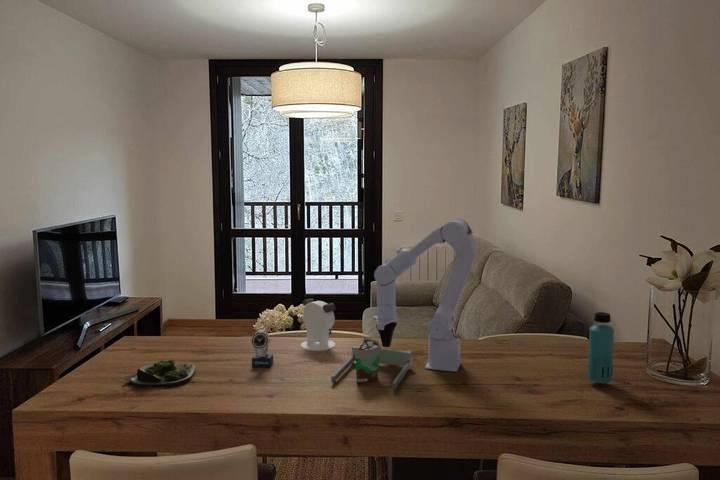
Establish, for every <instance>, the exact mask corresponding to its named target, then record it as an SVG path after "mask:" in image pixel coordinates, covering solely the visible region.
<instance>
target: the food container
mask: <svg viewBox="0 0 720 480" xmlns="http://www.w3.org/2000/svg"><path fill="white" fill-rule="evenodd" d="M359 347H360V348H359V350H356V354H355V358H356V361H355V370H356V371H355V374H356V385H360V386H361V385H369V384H370V385H371V384H373V383H375V382H377V381H378V379H379V378H378V377H379V365H380V363H379V354H381V352H382V350H381V349H382V344H381V343H380V342H379V341H378V340H375V339H372V338H367V337H364V338H363V343H362V344H360V346H359Z"/></svg>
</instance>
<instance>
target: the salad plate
mask: <svg viewBox="0 0 720 480" xmlns="http://www.w3.org/2000/svg"><path fill="white" fill-rule="evenodd" d="M195 371H196V365H195V364H192V363H188V362H186V363H185V362H182V363H176V361H175V360H173V359H171V358H170V359H168V358H165V359H164V360H162V359H161V360H159V361H156V362H154V363H153V364H152V363H151V364H148V365H145V366H141V367H139V368H138V369H137V371H136V372H135V373H133V374H131V375H129V376H126V377H124V379H123V380H124V381H126V382H130V383H131V384H133V385H134V386H135V385H136V386H135V387H137V386H139V387H138V388H143V387H165V388H174V387H178V386H181V385H183V384H186V383H187V382H188V381H190V380H192V378H193V375H194V374H195ZM173 386H174V387H173Z"/></svg>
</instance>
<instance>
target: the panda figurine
mask: <svg viewBox="0 0 720 480" xmlns="http://www.w3.org/2000/svg"><path fill="white" fill-rule="evenodd" d="M302 305H303V306H304V307H303V310H302V311H303V312H302V318H303V322H304V324H305V326H306V341H303V342H301V344H300V347H301V349H303V350H305V351H311V352H323V351H329V350H331V348H332V349H333V347H334V348H335V346H336V343H335V342H334V341H333V340H329V337H330V335H332V327H333V326H334V324H335V322H336V316H335V310H336V305H335V304H334V302H330V303H327V302H325V301H322V300H316V301H315V300H314V298H308V299H304V300H303V301H302ZM328 349H329V350H328Z"/></svg>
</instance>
